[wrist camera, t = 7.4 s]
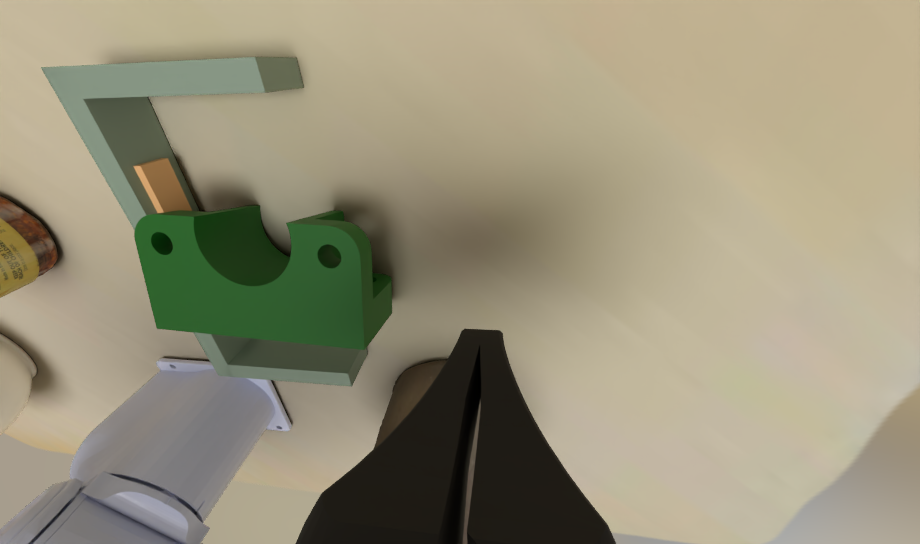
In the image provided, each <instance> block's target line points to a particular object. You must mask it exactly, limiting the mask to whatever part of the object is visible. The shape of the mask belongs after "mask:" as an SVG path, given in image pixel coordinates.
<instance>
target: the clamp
mask: <svg viewBox="0 0 920 544" xmlns="http://www.w3.org/2000/svg"><path fill="white" fill-rule="evenodd" d="M286 224H287V226H288V229H289V233H290V237H291V256H290V257H288V256H286V255H284V254H283V253H281V252H280V251H279V250H277V249H276V248H275V247H274V246H273V245H272V243H271V242H270V241H269V239H268V238H267V236H266V234H265V232H264V229H263V227H262V223H261V214H260V206H257V205H249V206H243V207H236V208H230V209H224V210H218V211H211V212H199V211H184V210H178V211H171V212H164V213H157V214H150V215H146V216H144V217H142V218H141V219H140V220H139V221H138V223H137V225H136V227H135V242H136V246H137V250H138V254H139V258H140V262H141V266H142V270H143V274H144V278H145V282H146V286H147V290H148V294H149V299H150V303H151V307H152V311H153V315H154V319H155V323H156V327H157V329H167V330H176V331H186V332H195V333H205V334H215V335H224V336H234V337H243V338H253V339H263V340H272V341H282V342H292V343H301V344H311V345H320V346H330V347H340V348H349V349H359V350H365V349H366V347H367V346H368V345H369V343H370V342H371V341H372V339H373V338H374V337H375V335H376V334H377V333H378V331H379V330H380V329H381V327H382V326H383V324H384V323H385V322H386V320H387V319H388V318H389V316H390V315H391V314H392V282H391V277H390V276H388V275H385V274H378V273H372V250H371V244H370V242H369V239H368V237H367V236H366V234H365V233H364V232H363V231H362V230H361V229H360V228H359V227H358V226H356V225H354V224H352V223H350V222H346V221H344V214H343V211H336V210H333V211H329V212H326V213H322V214H318V215H314V216H311V217H307V218H303V219H299V220H296V221H292V222H288V223H286Z"/></svg>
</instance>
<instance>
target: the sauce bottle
mask: <svg viewBox="0 0 920 544" xmlns="http://www.w3.org/2000/svg"><path fill="white" fill-rule="evenodd" d="M57 259H58V255H57V248H56V246H55V243H54V241H53V240H52V238H51V237H50V234H49V233H48V231H47V229H46V228H45V227H44V226H43V225H42V223H41V222H40V221H39V220H37V219H36V218H34V217H33V216H32V215H30V214H29V213H27V212H26V211H24V210H23V209H21V208H20V207H18V206H17V205H15V204H14V203H13V202H11V201H9V200H7V199H6V198H3V197H1V196H0V298H1V297H3V296H5V295H7V294H9V293H11V292H13V291H15V290H17V289H19V288H21V287H23V286H25V285H27V284H29V283H31V282H33V281H34V280H35V279H36V278H37V277H38V276H40V275H43V274H44V273H45V272H47V271H48V270H49V269H51V268H52V267H53V266H54V264H55V263H56V260H57Z"/></svg>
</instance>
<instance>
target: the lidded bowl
mask: <svg viewBox="0 0 920 544" xmlns="http://www.w3.org/2000/svg"><path fill="white" fill-rule="evenodd" d="M36 374H37V368H36V365H35V363H34V361H33V360H32V359H31V357H30V356H29V355H28V354H27V353H26V352H25V351H24V350H23V349H22V348H21V347H19V346H18V345H17V344H16V343H14V342H13V341H12V340H10V339H9V338H7V337H5V336H4V335H2V334H0V435H1V434H3V433H4V432H5V431H6V430H7V428H8V427H9V426H10V425H11V424H12V423H13V422H14V421H15V420H16V419H17V418H18V416H19V415H20V413H21V412H22V411H23V409H24V407H25V405H26V403H27V401H28V399H29V396H30V392H31V387H32V378H33V377H35V376H36Z"/></svg>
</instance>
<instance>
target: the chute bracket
mask: <svg viewBox="0 0 920 544" xmlns="http://www.w3.org/2000/svg"><path fill="white" fill-rule="evenodd" d="M41 69H42V70H43V72H44V74H45V76H46V77H47V79H48V81H49V83H50V84H51V86H52V88H53V89H54V91H55V93H56V95H57V96H58V98H59V100H60V102H61V103H62V105H63V107H64V109H65V110H66V112H67V114H68V115H69V117H70V119H71V121H72V122H73V124H74V126H75V128H76V129H77V131H78V133H79V135H80V136H81V138H82V140H83V142H84V143H85V145H86V147H87V148H88V150H89V152H90V154H91V155H92V157H93V159H94V161H95V162H96V164H97V166H98V168H99V169H100V171H101V173H102V175H103V176H104V178H105V180H106V181H107V183H108V185H109V187H110V188H111V190H112V192H113V194H114V195H115V197H116V199H117V201H118V202H119V204H120V206H121V208H122V209H123V211H124V213H125V214H126V216H127V218H128V220H129V221H130V223H131V225H132V227H133V228H134V230H135V227H136V225H137V223H138V221H139V220H140V219H141V218H142V217H144V216H146V215H150V214H157V213H164V212H171V211H178V210H184V211H199V209H198V207H197V205H196V203H195V200H194V198H193V196H192V194H191V192H190V189H189V187H188V185H187V183H186V181H185V178H184V176H183V174H182V172H181V170H180V167H179V165H178V163H177V161H176V159H175V157H174V154H173V152H172V150H171V148H170V146H169V143H168V141H167V139H166V137H165V135H164V132H163V130H162V128H161V126H160V124H159V121H158V119H157V117H156V115H155V113H154V110H153V108H152V106H151V104H150V102H149V99H148V97H150V96H179V95H208V94H237V93H266V92H273V91H281V90H289V89H297V88H304V87H303V83H302V79H301V75H300V70H299V66H298V62H297V58H283V57H245V58H225V59H204V60H184V61H163V62H142V63H122V64H101V65H81V66H60V67H41ZM199 212H200V211H199ZM194 334H195V336H196V338H197V339H198V341H199V343H200V345H201V346H202V348H203V350H204V352H205V353H206V355H207V357H208V359H209V360H210V362H211V364H212V365H213V367H214V369H215V371H216V372H217V374H218V376H225V377H238V378H251V379H264V380H276V381H289V382H302V383H315V384H327V385H340V386H352V385H353V383H354V381H355V379H356V377H357V375H358V372H359V370H360V368H361V366H362V364H363V362H364V360H365V358H366V356H367V354H368V353H367V349H365V350H359V349H349V348H340V347H330V346H320V345H311V344H301V343H292V342H282V341H272V340H263V339H253V338H243V337H234V336H224V335H215V334H205V333H195V332H194Z"/></svg>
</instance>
